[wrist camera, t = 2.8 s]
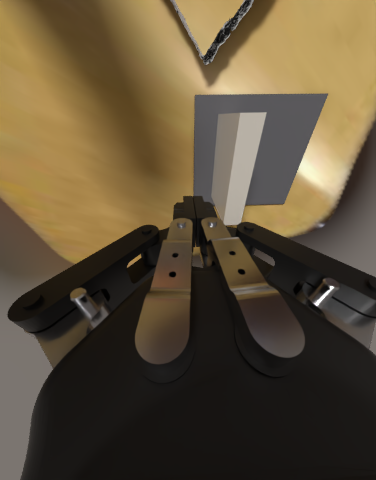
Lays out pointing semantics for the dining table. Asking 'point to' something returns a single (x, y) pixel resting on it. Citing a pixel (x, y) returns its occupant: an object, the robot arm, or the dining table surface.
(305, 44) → the dining table surface
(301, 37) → the dining table surface
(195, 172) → the rubber mat
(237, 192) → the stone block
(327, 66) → the dining table surface
